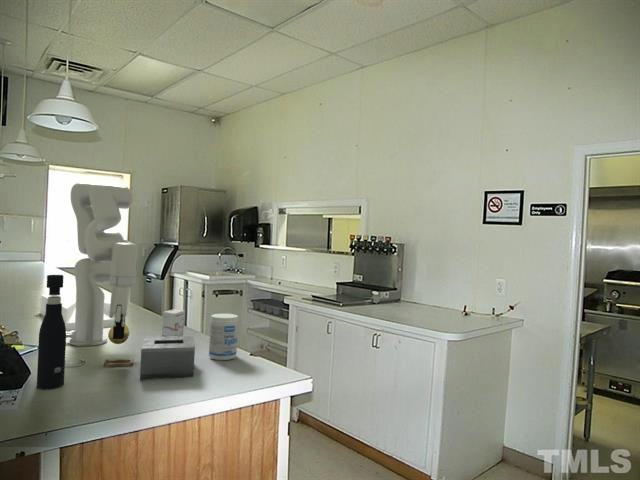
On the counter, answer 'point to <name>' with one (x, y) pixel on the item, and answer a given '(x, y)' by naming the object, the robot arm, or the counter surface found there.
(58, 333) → the black water bottle
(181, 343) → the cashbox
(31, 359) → the counter surface
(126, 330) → the coin
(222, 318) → the supplement tub
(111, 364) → the cradle
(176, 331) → the ink box
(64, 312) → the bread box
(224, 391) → the counter surface
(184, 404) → the counter surface
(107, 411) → the counter surface
